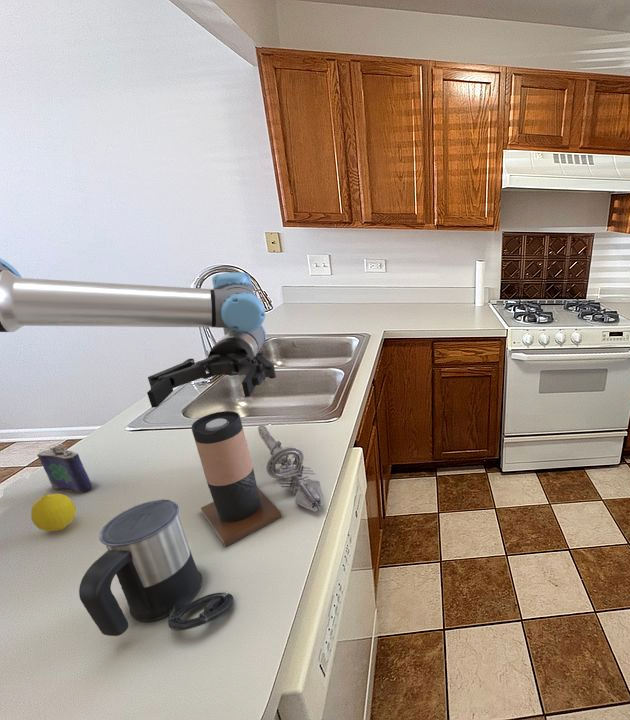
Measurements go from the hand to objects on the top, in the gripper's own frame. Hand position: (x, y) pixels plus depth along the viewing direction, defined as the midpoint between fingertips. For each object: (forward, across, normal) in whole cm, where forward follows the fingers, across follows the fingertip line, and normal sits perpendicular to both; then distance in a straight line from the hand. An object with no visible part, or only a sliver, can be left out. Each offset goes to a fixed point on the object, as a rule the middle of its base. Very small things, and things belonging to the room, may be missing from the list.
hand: (200, 394), depth 66 cm
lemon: (-9, +32, -28) cm, 44 cm away
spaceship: (-14, -7, -28) cm, 32 cm away
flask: (-24, +37, -28) cm, 53 cm away
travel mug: (-3, 0, -27) cm, 27 cm away
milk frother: (+15, +4, -28) cm, 33 cm away
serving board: (-3, 0, -28) cm, 28 cm away
